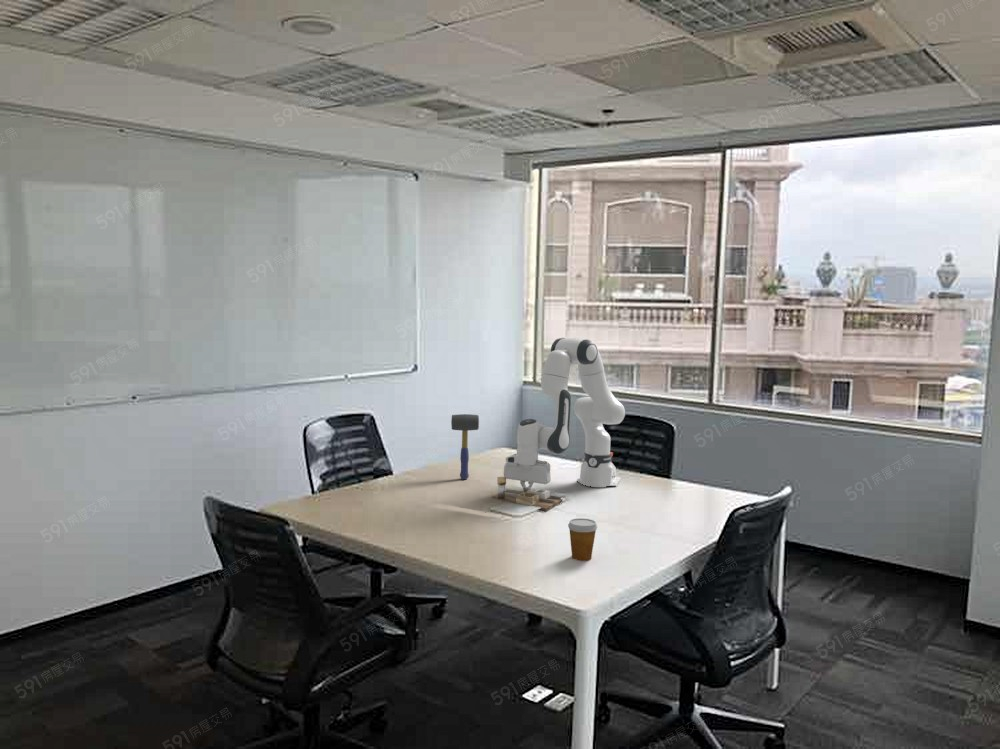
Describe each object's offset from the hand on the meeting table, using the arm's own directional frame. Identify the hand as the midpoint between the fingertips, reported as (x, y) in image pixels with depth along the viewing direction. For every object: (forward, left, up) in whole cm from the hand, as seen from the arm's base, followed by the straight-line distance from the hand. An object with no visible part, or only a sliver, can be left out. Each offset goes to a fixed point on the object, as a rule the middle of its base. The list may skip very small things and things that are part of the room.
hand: (526, 491), depth 332 cm
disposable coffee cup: (+55, +46, -4) cm, 72 cm away
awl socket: (+8, +4, -2) cm, 10 cm away
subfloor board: (+4, +1, -3) cm, 6 cm away
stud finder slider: (0, +5, -1) cm, 6 cm away
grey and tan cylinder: (+8, -8, -2) cm, 11 cm away
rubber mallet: (-17, -40, -4) cm, 43 cm away
